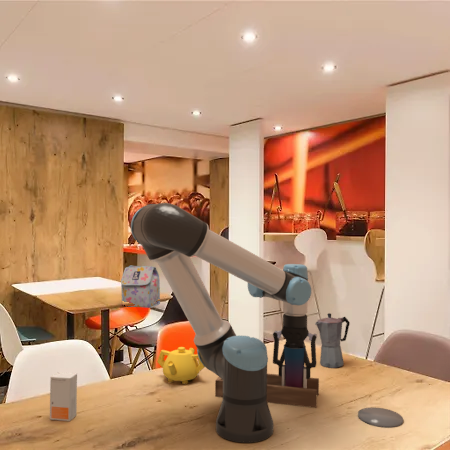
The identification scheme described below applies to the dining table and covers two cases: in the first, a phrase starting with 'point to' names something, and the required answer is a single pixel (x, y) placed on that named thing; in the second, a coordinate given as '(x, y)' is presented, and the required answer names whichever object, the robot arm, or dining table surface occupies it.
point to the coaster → (380, 417)
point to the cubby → (284, 391)
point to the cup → (294, 365)
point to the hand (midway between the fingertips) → (294, 387)
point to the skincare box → (63, 396)
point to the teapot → (180, 364)
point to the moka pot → (331, 340)
